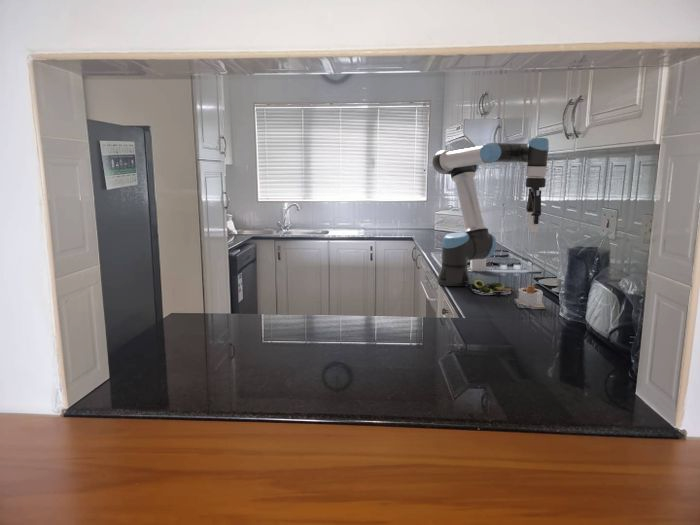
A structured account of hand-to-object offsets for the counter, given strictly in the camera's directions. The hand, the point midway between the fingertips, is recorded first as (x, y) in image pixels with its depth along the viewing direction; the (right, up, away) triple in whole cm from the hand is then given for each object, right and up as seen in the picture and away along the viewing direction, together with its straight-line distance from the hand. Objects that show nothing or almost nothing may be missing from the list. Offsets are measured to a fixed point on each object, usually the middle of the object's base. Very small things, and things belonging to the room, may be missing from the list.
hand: (531, 229), depth 207 cm
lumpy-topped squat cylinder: (-3, -13, +78) cm, 79 cm away
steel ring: (-3, -29, -7) cm, 30 cm away
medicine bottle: (-8, -17, +58) cm, 61 cm away
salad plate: (-14, -27, +15) cm, 34 cm away
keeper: (-3, -31, -6) cm, 32 cm away
